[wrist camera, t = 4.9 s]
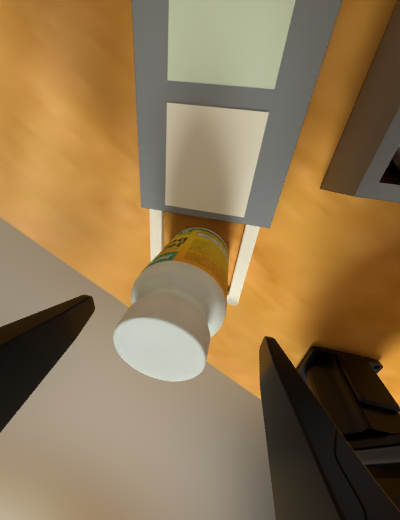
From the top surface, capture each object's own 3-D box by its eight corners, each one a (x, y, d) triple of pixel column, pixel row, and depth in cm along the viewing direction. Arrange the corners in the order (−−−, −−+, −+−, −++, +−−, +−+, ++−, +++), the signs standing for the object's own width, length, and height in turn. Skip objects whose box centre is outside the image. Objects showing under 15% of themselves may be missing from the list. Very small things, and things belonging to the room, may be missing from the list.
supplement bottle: (203, 289, 17) (172, 403, 9) (159, 255, 16) (78, 346, 8) (243, 253, 15) (253, 364, 6) (194, 211, 14) (130, 274, 5)
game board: (244, 302, 17) (244, 307, 16) (147, 282, 18) (144, 286, 17) (387, -155, 6) (403, -190, 6) (132, -141, 7) (123, -169, 7)
